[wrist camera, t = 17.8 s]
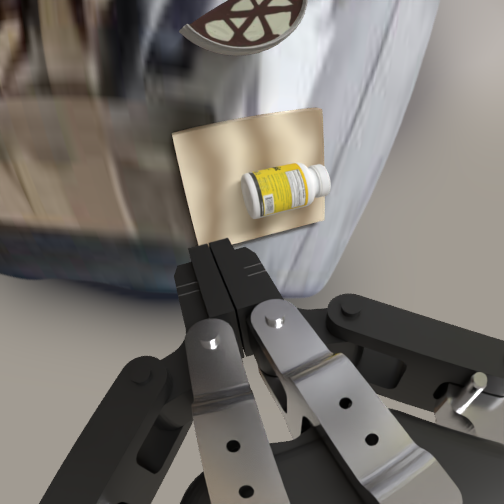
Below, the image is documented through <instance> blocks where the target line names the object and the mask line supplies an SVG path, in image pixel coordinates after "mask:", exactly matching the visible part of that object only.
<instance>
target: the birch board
mask: <svg viewBox="0 0 504 504" xmlns="http://www.w3.org/2000/svg"><path fill="white" fill-rule="evenodd" d="M172 137H173V142H174V146H175V151H176V155H177V160H178V164H179V168H180V173H181V177H182V181H183V185H184V190H185V194H186V198H187V202H188V206H189V210H190V214H191V218H192V222H193V226H194V230H195V234H196V238H197V242H198V245H202V244H206V243H207V244H208V246H209V242H213V241H217V240H221V239H224V238H229V240H230V242H231V244H236V243H240V242H243V241H247V240H251V239H255V238H258V237H262V236H266V235H270V234H273V233H277V232H281V231H285V230H288V229H292V228H296V227H300V226H304V225H308V224H311V223H315V222H319V221H323V220H324V210H325V196H323V197H318V198H315V197H314V200H313V202H312V203H311V204H310V205H309V206H306V207H302V208H298V209H294V210H290V211H286V212H282V213H278V214H274V215H270V216H266V217H262V218H258V219H253V218H251V217H250V215H249V213H248V211H247V209H246V206H245V202H244V198H243V194H242V189H241V177H242V175H243V174H245V173H249V172H254V171H259V170H263V169H268V168H272V167H277V166H282V165H287V164H292V163H302V164H304V165H305V166H306V167H307V168H308V167H309V166H311V165H317V164H321V165H323V166H324V139H323V115H322V109H319V108H307V109H298V110H290V111H283V112H275V113H269V114H262V115H256V116H250V117H244V118H238V119H233V120H228V121H223V122H218V123H213V124H208V125H203V126H199V127H194V128H190V129H186V130H182V131H178V132H174V133H172Z"/></svg>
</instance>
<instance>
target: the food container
mask: <svg viewBox="0 0 504 504" xmlns="http://www.w3.org/2000/svg"><path fill="white" fill-rule="evenodd" d="M307 1H308V0H228V1H226V2H224V3H223V4H221V5H219V6H217V7H216V8H214V9H213V10H211V11H209V12H208V13H206V14H205V15H203V16H202V17H200V18H199V19H197V20H196V21H194V22H193V23H192V24H190V25H188V24H186V25H185V26H184V27H183V28H182V29H181V30H180V31H179V32H180V33H181V34H182V35H183V36H184V37H186V38H187V39H188V40H190V41H191V42H193V43H194V44H195V45H197V46H200V47H202V48H204V49H206V50H209V51H212V52H215V53H219V54H224V55H235V56H240V55H250V54H255V53H260V52H262V51H265V50H268V49H270V48H272V47H274V46H276V45H278V44H279V43H280V42H282V41H283V40H284V39H286V38H287V37H288V36H289V35H290V34H291V33H292V32H293V31H294V30H295V29H296V28H297V26H298V25H299V24H300V22H301V20H302V18H303V16H304V14H305V10H306V7H307Z"/></svg>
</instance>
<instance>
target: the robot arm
mask: <svg viewBox="0 0 504 504" xmlns="http://www.w3.org/2000/svg"><path fill="white" fill-rule="evenodd" d="M188 250H189V254H190V258H191V262H189V263H186V264H182V265H179V266H177V269H176V272H175V275H174V279H175V283H176V288H177V293H178V296H179V302H180V306H181V310H182V315H183V319H184V323H185V327H186V336H185V340H184V341H183V343H182V344H181V346H180V347H179V348H178V349H177V350H176V351H175V352H173V353H172V354H170V355H168V356H167V357H165V358H164V359H162V360H159V359H157V358H155V357H152V356H141V357H138V358H135V359H133V360H131V361H130V362H129V363H128V364H127V365H126V366H125V367H124V368H123V369H122V371H121V373H120V374H119V375H118V377H117V379H116V380H115V381H114V383H113V385H112V386H111V388H110V389H109V391H108V392H107V394H106V395H105V397H104V398H103V400H102V401H101V403H100V405H99V406H98V408H97V409H96V411H95V412H94V414H93V415H92V417H91V418H90V420H89V422H88V424H87V425H86V427H85V428H84V430H83V431H82V433H81V435H80V436H79V438H78V439H77V441H76V442H75V444H74V446H73V447H72V449H71V451H70V453H69V454H68V455H67V457H66V459H65V460H64V462H63V464H62V465H61V467H60V469H59V470H58V472H57V474H56V475H55V477H54V479H53V481H52V482H51V484H50V486H49V487H48V489H47V491H46V493H45V495H44V496H43V498H42V499H41V501H40V503H39V504H151V502H152V500H153V498H154V497H155V495H156V493H157V491H158V489H159V487H160V485H161V483H162V481H163V479H164V477H165V475H166V473H167V472H168V470H169V468H170V466H171V464H172V462H173V460H174V458H175V456H176V454H177V452H178V450H179V448H180V446H181V444H182V442H183V440H184V438H185V436H186V434H187V432H188V430H189V428H190V426H191V424H192V421H194V427H195V432H196V437H197V442H198V447H199V452H200V456H201V462H202V466H203V472H202V473H201V474H200V475H199V476H198V477H196V478H195V480H194V481H193V482H192V483H191V484H190V486H189V487H188V489H187V490H186V492H185V494H184V496H183V498H182V500H181V502H180V504H504V341H503V340H499V339H496V338H493V337H489V336H486V335H483V334H480V333H477V332H473V331H470V330H467V329H464V328H461V327H457V326H454V325H451V324H448V323H445V322H441V321H438V320H435V319H432V318H429V317H425V316H422V315H419V314H416V313H412V312H410V311H407V310H403V309H400V308H397V307H394V306H391V305H388V304H385V303H381V302H378V301H375V300H372V299H369V298H366V297H363V296H360V295H356V294H342V295H339V296H337V297H335V298H333V299H332V300H331V302H330V303H329V305H328V308H325V309H312V310H305V309H299V308H296V307H295V306H294V305H293V304H292V303H290V302H288V301H286V300H284V299H283V298H282V296H281V294H280V293H279V291H278V289H277V288H276V286H275V284H274V283H273V281H272V279H271V278H270V276H269V275H268V273H267V271H266V270H265V268H264V266H263V265H262V264H261V261H260V260H259V258H258V257H257V255H256V253H254V252H253V251H251V250H250V249H248V248H246V247H243V248H239V249H236V250H234V248H233V246H232V244H231V242H230V240H229V238H224V239H221V240H217V241H213V242H209V246H208V244H207V243H206V244H202V245H199V246H195V247H192V248H188ZM243 350H244V352H245V355H246V356H250V355H253V354H254V357H255V359H256V361H257V364H258V369H259V373H260V375H261V377H262V379H263V381H264V383H265V385H266V386H267V388H268V390H269V392H270V393H271V395H272V397H273V399H274V401H275V402H276V404H277V406H278V408H279V409H280V411H281V413H282V415H283V417H284V419H285V421H286V424H287V427H288V429H289V432H290V434H291V436H292V438H293V440H292V441H286V442H278V443H269V441H268V438H267V435H266V432H265V429H264V426H263V423H262V420H261V417H260V414H259V410H258V408H257V404H256V401H255V398H254V395H253V392H252V390H251V388H250V385H249V382H248V379H247V375H246V372H245V369H244V366H243V361H242V358H244V353H243ZM377 394H379V395H382V396H384V397H388V398H390V399H393V400H396V401H399V402H402V403H405V404H409V405H412V406H415V407H418V408H421V409H424V410H427V411H431V412H434V415H435V418H436V424H435V423H432V422H429V421H426V420H423V419H420V418H418V417H415V416H412V415H409V414H406V413H404V412H401V411H398V410H393V409H389V408H387V407H386V406H385V405H384V403H383V402H382V401H381V399H380V398H379V397H378V396H377Z"/></svg>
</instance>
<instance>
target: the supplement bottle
mask: <svg viewBox="0 0 504 504" xmlns="http://www.w3.org/2000/svg"><path fill="white" fill-rule="evenodd" d="M241 189H242V194H243V198H244V202H245V206H246V209H247V211H248V213H249V215H250V217H251V218H253V219H258V218H262V217H266V216H270V215H274V214H278V213H282V212H286V211H290V210H294V209H298V208H302V207H306V206H309V205H310V204H311V203H312V202H313V200H314V197H315V198H318V197H323V196H327V195H328V194H329V192H330V178H329V175H328V172H327V170H326V168H325V167H324V166H323V165H321V164H317V165H311V166H309V167H308V168H307V167H306V166H305V165H304V164H302V163H292V164H287V165H282V166H277V167H272V168H268V169H263V170H259V171H254V172H249V173H245V174H243V175H242V177H241Z"/></svg>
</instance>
